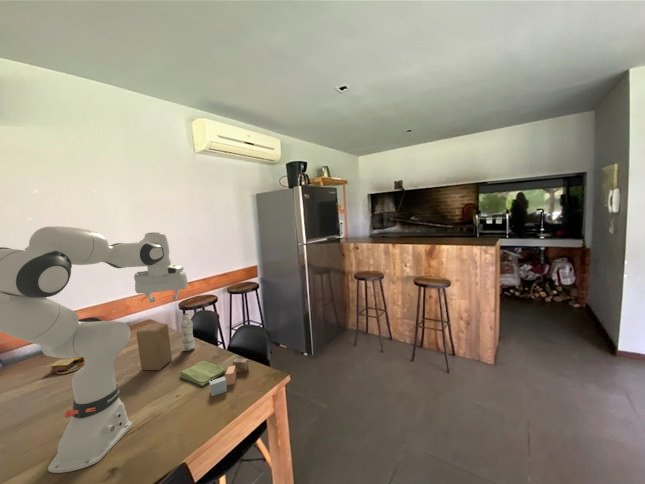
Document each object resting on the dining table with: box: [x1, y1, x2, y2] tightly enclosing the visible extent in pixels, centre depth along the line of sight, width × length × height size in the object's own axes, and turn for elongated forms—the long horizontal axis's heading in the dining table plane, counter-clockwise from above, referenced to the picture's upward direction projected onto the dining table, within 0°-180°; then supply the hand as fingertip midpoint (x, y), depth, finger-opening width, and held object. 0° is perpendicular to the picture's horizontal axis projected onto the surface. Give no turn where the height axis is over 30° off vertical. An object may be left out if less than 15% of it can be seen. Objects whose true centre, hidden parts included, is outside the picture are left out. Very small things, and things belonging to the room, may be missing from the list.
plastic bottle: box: [179, 313, 196, 352], centre depth 151 cm, size 6×7×20 cm
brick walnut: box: [232, 358, 249, 373], centre depth 128 cm, size 6×3×5 cm, turn 79°
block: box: [136, 322, 173, 371], centre depth 137 cm, size 10×10×20 cm
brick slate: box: [208, 375, 228, 397], centre depth 113 cm, size 6×3×5 cm, turn 119°
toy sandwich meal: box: [50, 357, 85, 375], centre depth 140 cm, size 12×14×5 cm
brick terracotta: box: [225, 365, 237, 386], centre depth 120 cm, size 6×3×5 cm, turn 9°
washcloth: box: [179, 360, 226, 387], centre depth 126 cm, size 13×18×3 cm
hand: (163, 300), depth 120 cm, fingers open, 8 cm apart
